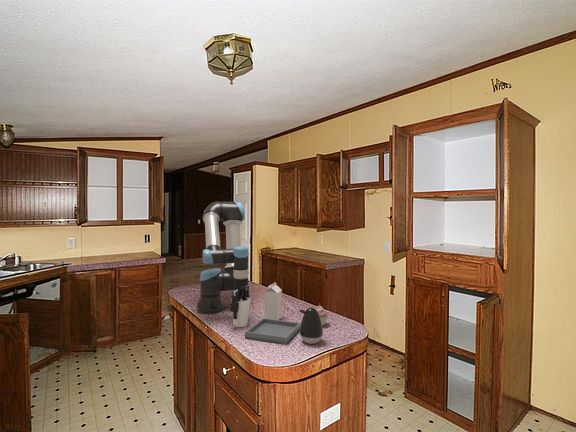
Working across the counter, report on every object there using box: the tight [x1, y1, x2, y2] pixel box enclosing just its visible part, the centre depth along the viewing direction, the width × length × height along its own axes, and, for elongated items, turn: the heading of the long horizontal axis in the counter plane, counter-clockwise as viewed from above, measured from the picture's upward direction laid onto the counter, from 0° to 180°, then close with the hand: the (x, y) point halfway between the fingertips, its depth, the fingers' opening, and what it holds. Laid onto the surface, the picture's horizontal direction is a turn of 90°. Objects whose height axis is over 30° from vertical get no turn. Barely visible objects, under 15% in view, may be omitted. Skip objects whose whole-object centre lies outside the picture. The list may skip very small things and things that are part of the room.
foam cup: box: [230, 297, 251, 328], centre depth 166 cm, size 10×9×13 cm
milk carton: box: [264, 282, 283, 320], centre depth 175 cm, size 7×7×19 cm
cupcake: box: [314, 305, 329, 327], centre depth 167 cm, size 9×9×10 cm
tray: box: [244, 317, 301, 346], centre depth 155 cm, size 20×20×3 cm
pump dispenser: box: [299, 306, 324, 345], centre depth 146 cm, size 10×10×15 cm
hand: (240, 321), depth 166 cm, fingers closed on foam cup, 9 cm apart
